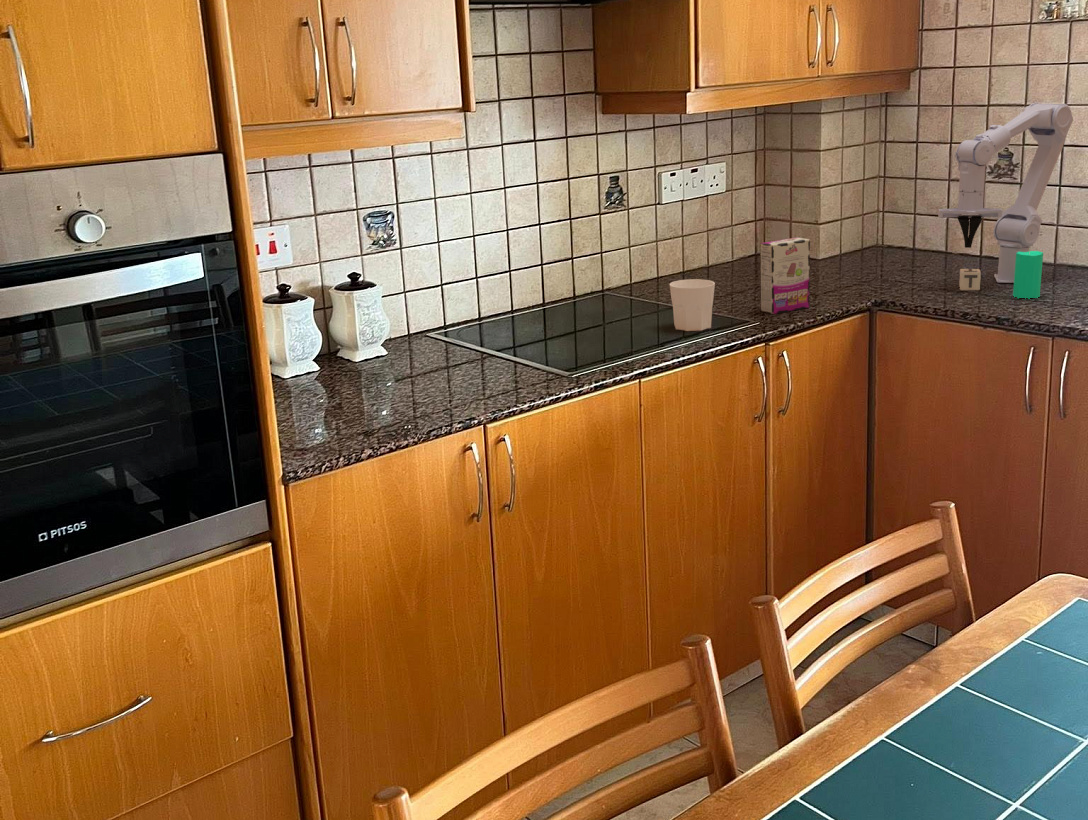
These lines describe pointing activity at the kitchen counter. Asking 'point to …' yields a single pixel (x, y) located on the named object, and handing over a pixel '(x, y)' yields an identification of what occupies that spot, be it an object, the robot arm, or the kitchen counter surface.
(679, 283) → the cup
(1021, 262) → the candle
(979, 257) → the kitchen counter surface
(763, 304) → the candy bar box
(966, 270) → the letter cube
